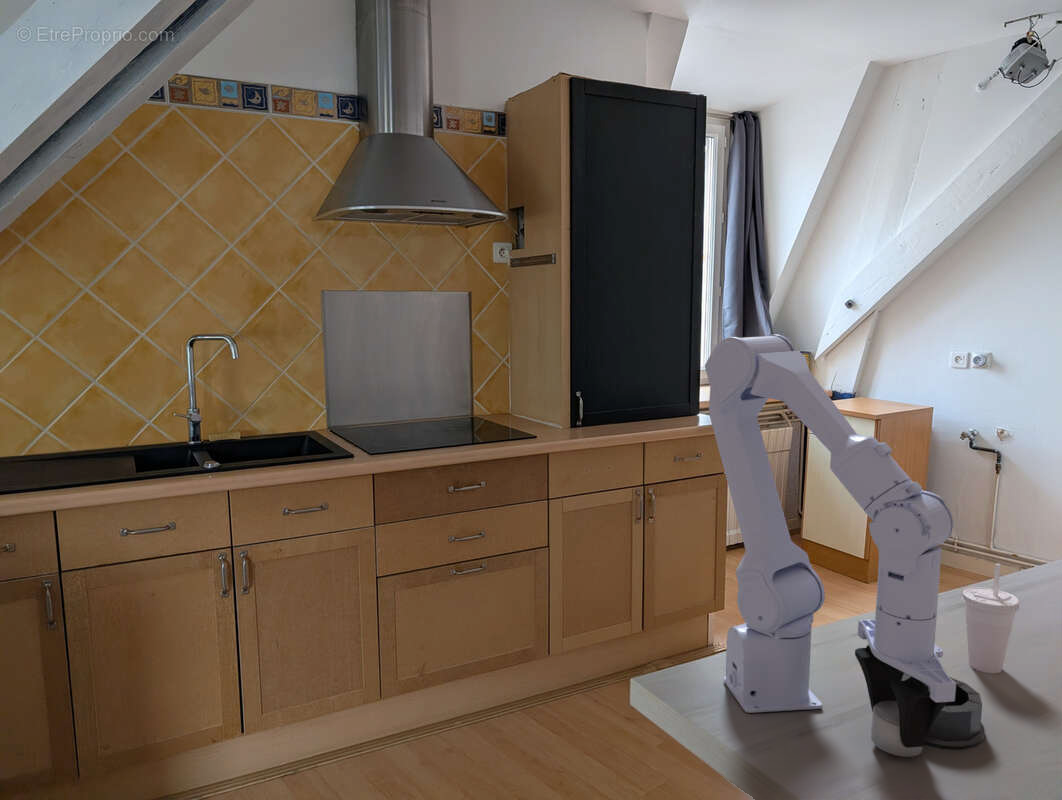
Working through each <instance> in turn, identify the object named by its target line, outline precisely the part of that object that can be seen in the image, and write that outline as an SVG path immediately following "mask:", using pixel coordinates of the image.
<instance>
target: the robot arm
mask: <svg viewBox="0 0 1062 800" xmlns="http://www.w3.org/2000/svg"><path fill="white" fill-rule="evenodd" d="M704 368H705V372H706V377H707V379H708V383H709V387H710V388H709V400H708V401H709V402H708V413H709V419H710V422H711V426H712V430H713V433H714V438H715V440H716V441H715V442H716V444H717V448H718V452H719V455H720V460H721V463H722V466H723V471H724V475H725V478H726V482H727V486H728V489H729V493H730V497H731V501H732V504H733V507H734V511H735V515H736V519H737V522H738V526H739V530H740V534H741V538H742V541H743V545H744V549H745V551H744V554H743V557H742V558H741V560H740V562H739V564H738V566H737V567H736V571H735V575H736V576H735V577H736V579H737V585H738V586H737V589H738V590H737V596H736V604H737V608H738V611H739V613H740V615H741V617H742V619H743V620H744V623H742V624H739V625H734V626H731V627H729V629H728V631H727V635H726V636H727V637H726V651H725V652H726V653H725V655H726V656H725V657H726V659H725V660H726V662H725V676H723V681H724V683H725V684H726V686H727V687H728V689H729V690H730V692H731V693H732V694H733V696H734V697H735V699H736V701H738V703H739V705H740V706H741V708H742V709H743V711H744V712H746V713H767V712H782V711H783V712H785V711H800V710H814V709H815V710H817V709H820V710H821V709H822V708H823V707H824V705H823V703H822V701H821V700H820V699H819V698H818V697H817V696H816V695H815V694H814V693H813V691H812V690H811V689H810V671H811V670H810V669H811V650H812V648H811V646H812V625H813V623H814V614H815V613H816V612H818V611H819V610H820V609H821V608H822V607H823V605H824V602H825V597H826V591H825V587H824V584H823V582H822V579H821V578H820V576H819V575H818V573H817V572H816V571H815V570H814V568H813V567H812V565H811V562H810V558H809V555H808V552H807V551H805V550H803V549H802V548H801V547H800V546H798V545H796V544H795V543H794V542H793V541H792V539H791V535H790V532H789V528H788V524H787V521H786V517H785V513H784V510H783V506H782V503H781V498H780V496H779V492H778V491H779V490H778V488H777V484H776V481H775V478H774V473H773V471H772V468H771V463H770V460H769V456H768V455H769V454H768V451H767V448H766V445H765V441H764V438H763V435H762V430H761V427H760V424H759V421H758V416H759V414H760V413H761V411H762V409H763V408H764V406H765V405H766V403H767V402H768V400H769V399H772V400H777V401H781V402H783V403H784V404H785V405H786V406H787V407H788V408H789V409H790V410H791V411H792V412H793V414H794V415H796V417H797V418H798V419H799V420H800V421H801V423H803V424H804V425H805V426H806V428H807V429H809V431H810V432H811V433H812V434H813V436H814V437H816V439H818V440H819V442H820V443H821V444H822V445H823V446H824V447H825V448H826V450H828V451H829V452H830V461H829V462H830V463H829V468H830V469H829V470H830V471H831V472H832V473H833V474H834V475H835V477H836V478H837V479H838V480H839V482H840V483H841V484H842V485H843V487H844V488H845V489H846V491H848V493H849V494H850V495H851V497H852V498H853V500H855V502H856V503H857V504H858V506H860V508H861V509H862V510H863V512H864V513H865V514H866V515H867V516H868V518H869V519H870V520H872V522H869V524H868V525H869V526H868V527H869V528H868V529H869V533H870V536H871V538H872V541H873V542H874V544H875V545H876V548H877V550H878V567H877V569H878V571H877V586H876V587H877V588H876V599H875V600H876V602H875V613H874V614H875V617H874V619H872V618H871V619H859V620H858V625H857V627H858V628H857V636H858V637H859V639H862V640H867V644H868V645H867V644H866V647H859V648H856V649H855V650H854V656H855V657H856V660H857V661H858V663H859V665H860V668H861V671H862V674H863V676H864V679H865V683H866V686H867V687H866V688H867V692H868V697H869V702H870V707H871V708H870V709H871V712H872V713H873V707H874V706H875V705H876V704H877V703H879V702H881V701H897V704H898V709H899V720H900V738H901V742H902V744H903V745H904V746H905V747H906V748H909V747H923V748H924V747H925V745H926V744H925V742H926V739H927V737H928V734H929V732H930V729H931V727H932V725H933V723H934V721H935V719H936V717H937V716H938V714H939V713H940V711H941V710H942V709H943V708H944V706H945V705H946V704H947V703H948V702H952V701H955V691H956V683H955V682H954V681H953V680H952V679H951V678H952V677H951V678H950V676H949V674H948V673H947V671H946V669H945V668H944V666H943V664H942V663H941V660H940V659H939V658H943V656H944V650H943V649H942V648H941V647H939V646H938V645H937V644H936V630H937V629H936V627H937V619H938V618H937V616H938V604H939V592H940V589H939V588H940V578H941V560H942V559H941V558H942V550H943V549H942V547H940V545H941V544H943V543H944V542H946V541H947V540H948V539H949V538H950V536H951V535H952V533H953V529H954V518H953V517H954V516H953V514H952V512H951V510H950V508H949V507H948V505H947V504H946V502H945V499H944V498H942V497H941V496H940V495H938V494H936V493H934V492H932V491H928V490H927V491H926V490H924V489H923V487H922V486H921V484H920V483H919V482H918V481H914V480H912V478H910V476H909V475H908V474H907V473H906V472H905V471H904V470H903V468H902V467H901V466H900V464H898V462H897V461H896V460H895V459H894V458H893V456H891V455H890V454H891V453H892V452H893V449H892V448H891V447H890V445H889V444H888V443H887V442H886V441H884V442H879V441H878V439H877V438H876V437H874V436H867V435H861V434H859V433H857V432H856V430H855V429H854V428H853V426H852V425H851V423H850V422H849V421H848V419H846V417H845V416H844V414H843V413H842V412H841V410H840V409H839V408H838V407H837V405H836V404H835V402H834V401H833V400H832V398H831V397H830V396H829V395H828V393H827V391H825V389H824V388H823V386H822V385H821V384H820V383H819V381H818V380H817V379H816V377H815V376H814V374H813V373H812V372H811V371H810V368H809V365H808V361H807V358H806V356H805V354H803V353H801V351H799V350H797V348H796V347H795V345H794V344H793V342H792V341H791V340H790V339H789V338H788V337H785V335H781V334H770V335H765V336H751V337H750V336H748V337H737V336H729V337H726V338H723V339H722V340H720V341H719V342H718V343H717V344H716V345H714V348H713V349H712V351H711V353H710V355H709V356H708V359H707V360H706V362H705V364H704ZM938 546H939V547H938ZM904 673H906V674H908V675H910V681H909V680H906V681H901V680H902V677H903V675H904Z"/></svg>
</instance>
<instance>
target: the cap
mask: <svg viewBox="0 0 1062 800" xmlns="http://www.w3.org/2000/svg"><path fill="white" fill-rule="evenodd" d="M870 737H871V738H870V739H871V741H872V742H873V744H874V745H875V746H876V747H877V748H879V749H881V751H883V752H886V753H888V754H891V755H894V756H898V757H899V756H900V757H905V758H907V757H915V756H918V755H920V754H921V753H922V752H923V749H924V746H923V747H909V748H906V747H905V746H904V745H903V744H902V742H901V738H900V720H899V709H898V704H897V701H881V702H879V703H877V704H876V705H875V706H874V707H873V712H872V719H871V733H870Z"/></svg>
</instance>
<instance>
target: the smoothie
mask: <svg viewBox="0 0 1062 800" xmlns="http://www.w3.org/2000/svg"><path fill="white" fill-rule="evenodd" d="M1000 571H1001V564H1000V563H995V564H994V576H993V588H989V587H983V586H982V587H981V586H980V587H979V586H977V587H968V588H965V589H963V591H962V596H961V600H962V601H963V602H964V610H965V624H966V639H967V652H968V664H969V666H970V667H971V668H972V669H975V670H976V671H979V672H982V673H987V674H998V673H1001V672H1002V670H1003V666H1004V662H1005V657H1006V654H1007V649H1008V645H1009V640H1010V637H1011V633H1012V628H1013V624H1014V621H1015V615H1016V612H1018V611H1019V610H1020V600H1019V598H1017V596H1015V595H1013V594H1011V593H1010V592H1007V591H1004V590H1000V589H999V588H1000V587H999V585H1000V575H1001V572H1000Z"/></svg>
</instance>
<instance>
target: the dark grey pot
mask: <svg viewBox="0 0 1062 800" xmlns="http://www.w3.org/2000/svg"><path fill="white" fill-rule="evenodd" d="M949 677H950V676H949ZM950 678H951V679H952V680H953V681H954V682H955V683H956V691H955V701H952V702H948V703H947V704H946V705H945V706H944V708H943V709H942V710H941V711H940V713H939V714H938V716H937V717H936V719H935V721H934V723H933V725H932V727H931V729H930V732H929V734H928V737H927V739H926V742H925V744H924V745H926V746H930V747H934V748H939V749H944V750H945V749H946V750H968V749H973V748H976V747H977V746H979V745H981V744H982V743H983V741H985V740H984V739H985V733H986V731H985V726H984V724H983V723H982V711H983V702H982V698H981V694H980V693H979V692H978V691H976V690H975V689H974V688H972V687H971V686H970V685H968V684H967V682H964V681H961V680H959V679H956V678H954V677H950ZM906 680H909V681H910V675H908V674H906V673H904V675H903V677H902V680H901V681H906Z"/></svg>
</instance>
